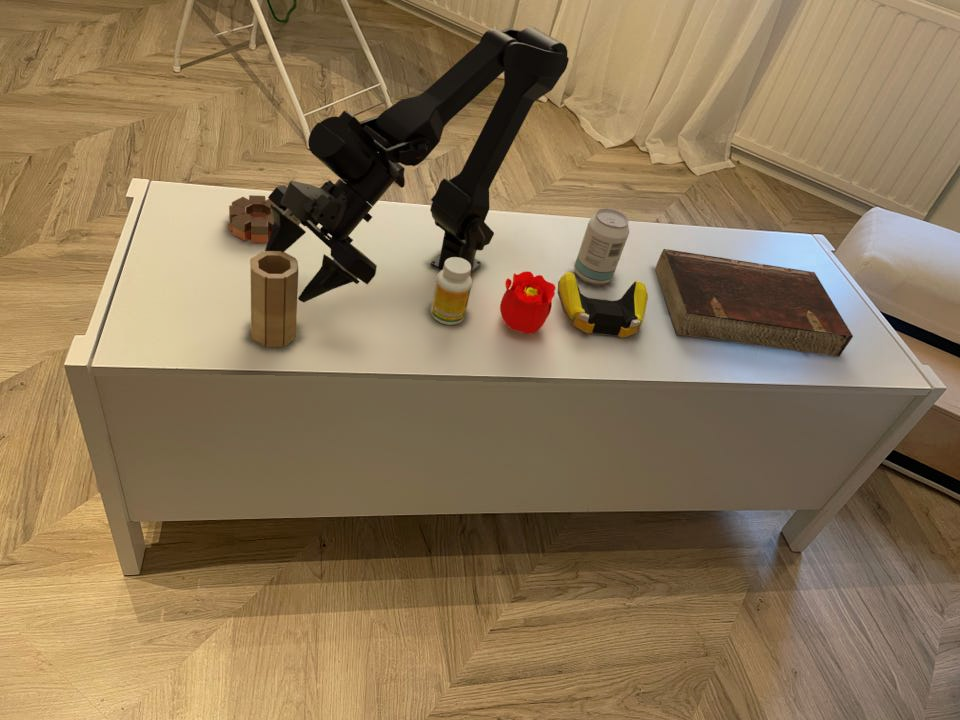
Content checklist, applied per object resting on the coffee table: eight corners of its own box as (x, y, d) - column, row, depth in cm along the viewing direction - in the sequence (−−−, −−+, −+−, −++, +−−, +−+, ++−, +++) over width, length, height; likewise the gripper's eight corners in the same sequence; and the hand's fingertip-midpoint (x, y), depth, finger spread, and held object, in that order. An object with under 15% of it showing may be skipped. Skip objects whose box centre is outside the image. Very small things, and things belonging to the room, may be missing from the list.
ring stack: (256, 205, 132) (256, 189, 130) (298, 227, 129) (298, 211, 127) (217, 226, 126) (216, 209, 124) (260, 249, 123) (260, 233, 121)
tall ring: (271, 313, 113) (272, 245, 105) (304, 332, 111) (307, 264, 103) (242, 333, 108) (240, 264, 100) (275, 353, 107) (276, 284, 99)
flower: (488, 313, 122) (498, 272, 117) (529, 306, 126) (541, 266, 120) (511, 345, 117) (523, 305, 112) (554, 337, 121) (567, 297, 116)
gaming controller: (551, 293, 129) (558, 332, 122) (560, 267, 126) (567, 305, 118) (637, 304, 132) (649, 343, 124) (648, 278, 128) (660, 317, 121)
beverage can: (609, 268, 138) (631, 211, 130) (612, 291, 133) (634, 233, 125) (572, 261, 138) (591, 202, 130) (572, 283, 133) (592, 224, 125)
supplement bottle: (427, 303, 121) (436, 253, 115) (460, 303, 123) (471, 254, 116) (433, 326, 117) (443, 275, 111) (467, 326, 119) (479, 276, 113)
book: (802, 291, 145) (814, 269, 142) (838, 358, 131) (853, 336, 128) (654, 268, 141) (664, 246, 138) (675, 335, 127) (686, 312, 124)
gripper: (282, 129, 101) (206, 221, 102) (366, 200, 92) (283, 299, 93) (329, 170, 111) (259, 254, 112) (409, 238, 102) (333, 328, 103)
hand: (281, 281), depth 105 cm, fingers open, 9 cm apart
